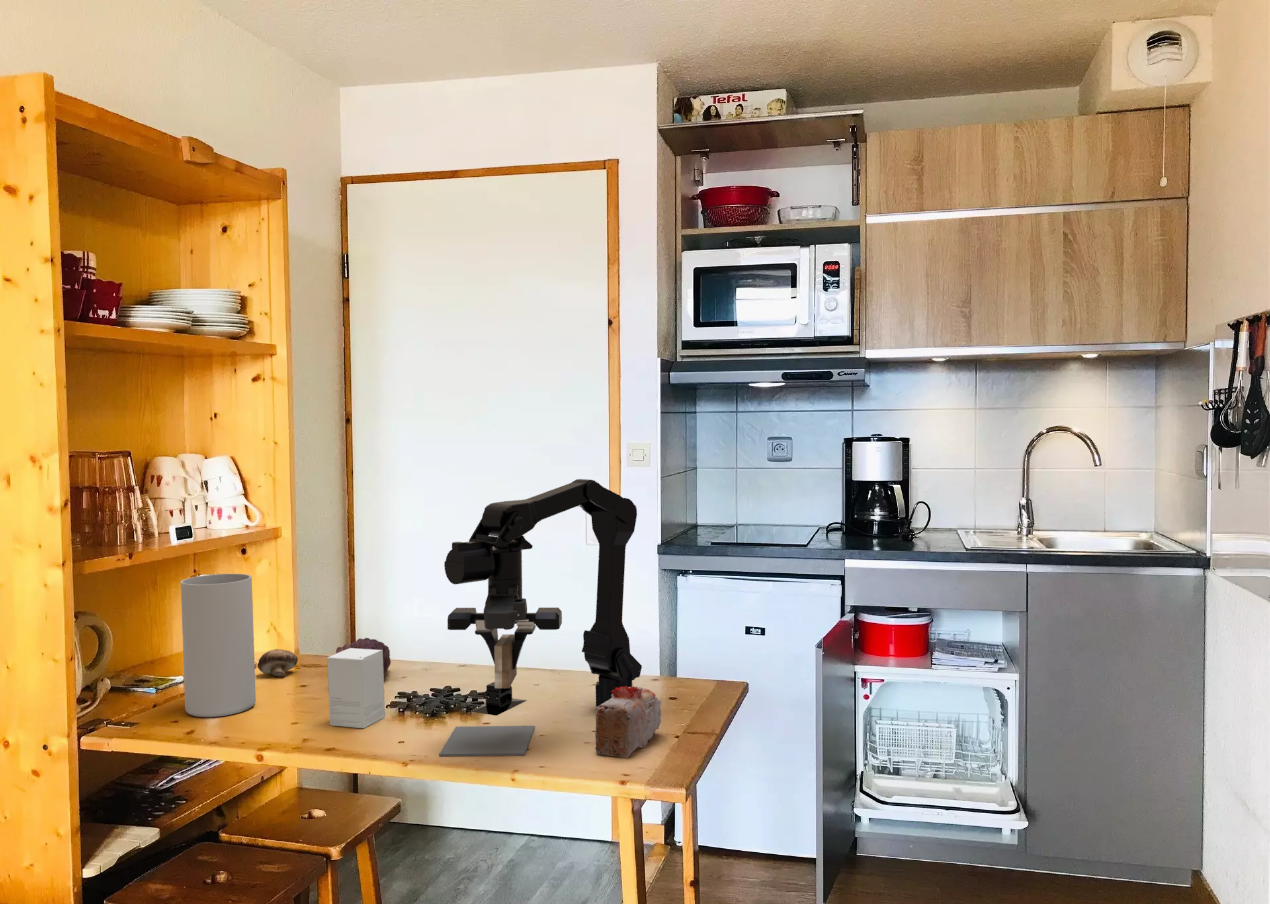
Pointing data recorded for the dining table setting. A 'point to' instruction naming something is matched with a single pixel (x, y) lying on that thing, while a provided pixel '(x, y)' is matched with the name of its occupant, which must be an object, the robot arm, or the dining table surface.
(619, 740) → the food item
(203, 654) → the cylinder vase
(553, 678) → the dining table surface
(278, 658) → the mushroom
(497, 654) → the tile
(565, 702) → the dining table surface
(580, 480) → the robot arm
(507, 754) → the mat
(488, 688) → the black angular block
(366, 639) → the pine cone
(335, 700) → the supplement box
